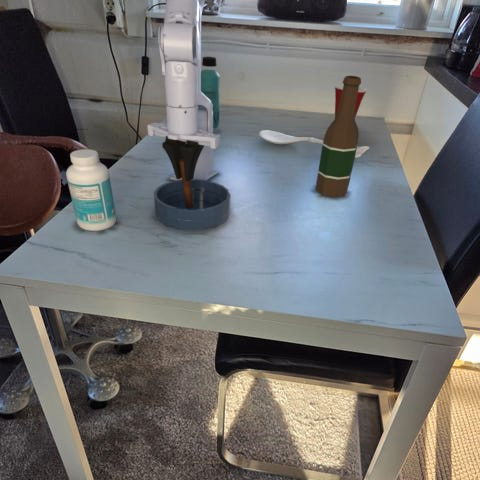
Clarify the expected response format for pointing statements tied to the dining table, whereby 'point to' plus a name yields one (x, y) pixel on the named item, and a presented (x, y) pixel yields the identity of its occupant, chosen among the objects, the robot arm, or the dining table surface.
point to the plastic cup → (339, 91)
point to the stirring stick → (186, 187)
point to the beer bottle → (340, 144)
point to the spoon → (297, 140)
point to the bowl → (204, 204)
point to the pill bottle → (91, 191)
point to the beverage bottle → (211, 87)
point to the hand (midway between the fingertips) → (184, 178)
